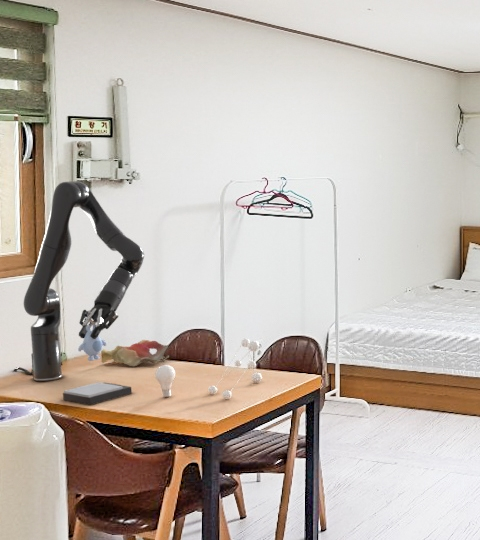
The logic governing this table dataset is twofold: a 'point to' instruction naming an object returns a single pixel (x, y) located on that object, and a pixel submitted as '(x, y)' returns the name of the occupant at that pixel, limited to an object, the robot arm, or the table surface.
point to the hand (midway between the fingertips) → (87, 337)
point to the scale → (96, 393)
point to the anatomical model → (136, 353)
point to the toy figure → (92, 344)
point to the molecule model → (255, 376)
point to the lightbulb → (165, 379)
